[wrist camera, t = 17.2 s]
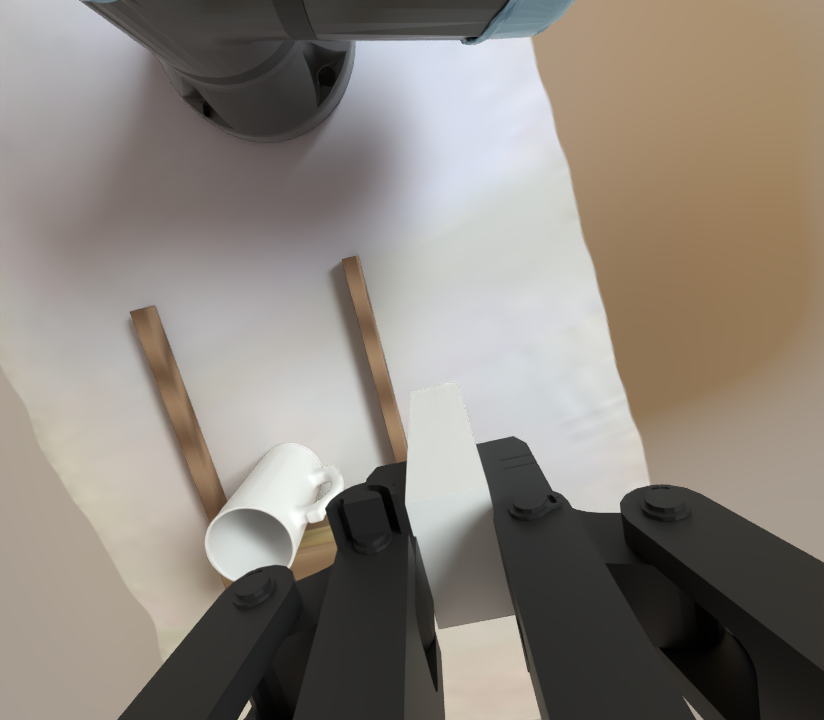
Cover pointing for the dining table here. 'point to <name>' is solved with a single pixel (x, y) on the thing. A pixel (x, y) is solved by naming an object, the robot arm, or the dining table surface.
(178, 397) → the guide lane
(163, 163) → the dining table surface
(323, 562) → the end stop
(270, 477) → the mug
